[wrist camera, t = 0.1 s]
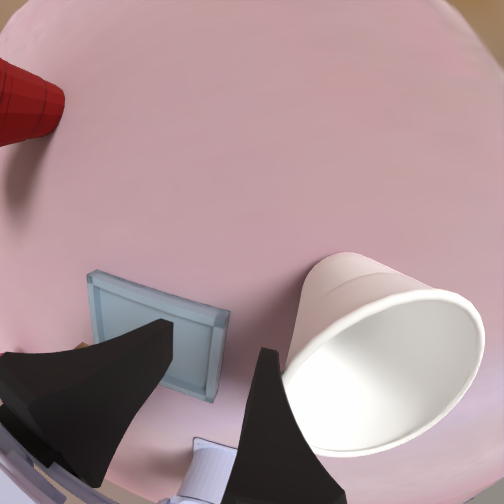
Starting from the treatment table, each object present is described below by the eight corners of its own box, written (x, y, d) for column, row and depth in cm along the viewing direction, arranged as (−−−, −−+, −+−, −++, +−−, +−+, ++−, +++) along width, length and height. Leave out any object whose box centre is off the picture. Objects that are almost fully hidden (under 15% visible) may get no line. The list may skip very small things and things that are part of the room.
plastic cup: (60, 170, 22) (-36, 183, 10) (21, 145, 22) (-53, 151, 11) (96, 71, 18) (1, 44, 7) (49, 64, 19) (-25, 50, 7)
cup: (305, 360, 21) (315, 474, 11) (251, 260, 19) (222, 362, 9) (411, 313, 19) (477, 403, 9) (379, 201, 17) (483, 241, 7)
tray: (217, 392, 25) (212, 403, 23) (104, 348, 26) (96, 355, 25) (230, 311, 22) (224, 320, 20) (96, 269, 24) (86, 274, 22)
